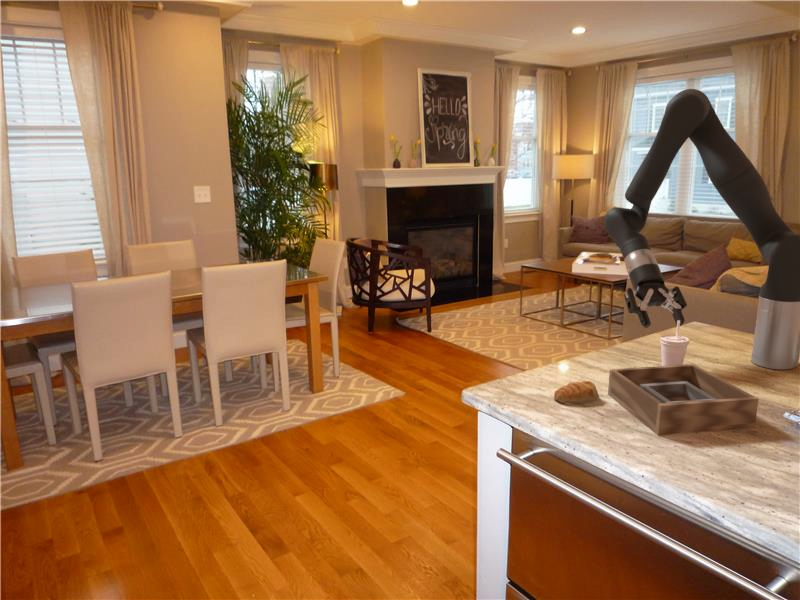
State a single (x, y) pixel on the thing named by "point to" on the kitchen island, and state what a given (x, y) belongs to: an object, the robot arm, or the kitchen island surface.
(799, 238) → the robot arm
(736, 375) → the kitchen island surface
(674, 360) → the smoothie
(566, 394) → the pastry
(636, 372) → the crate
